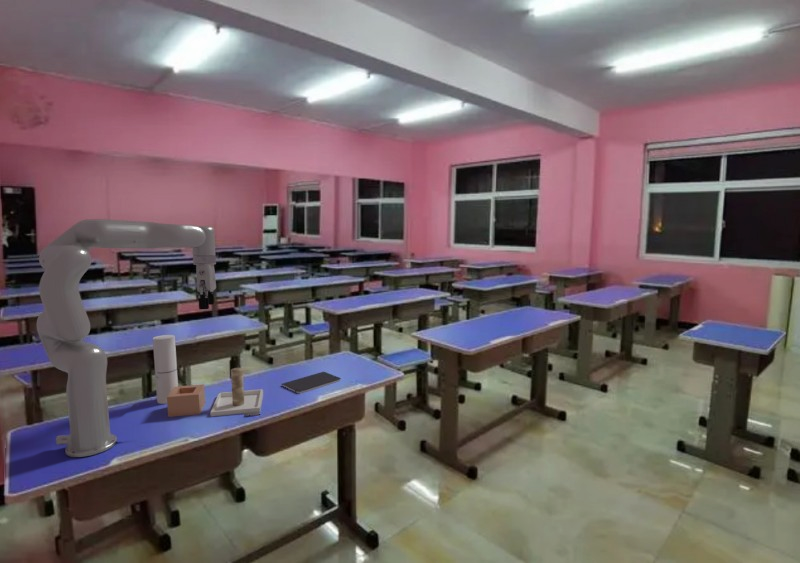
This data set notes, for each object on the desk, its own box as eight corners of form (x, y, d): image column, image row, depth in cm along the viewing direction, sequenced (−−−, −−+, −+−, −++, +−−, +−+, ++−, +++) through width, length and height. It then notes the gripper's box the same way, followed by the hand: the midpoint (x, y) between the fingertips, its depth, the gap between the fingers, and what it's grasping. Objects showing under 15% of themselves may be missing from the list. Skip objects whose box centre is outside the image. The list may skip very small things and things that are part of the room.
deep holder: (168, 419, 149) (166, 397, 148) (175, 407, 159) (174, 386, 158) (199, 416, 151) (198, 394, 150) (205, 405, 161) (204, 384, 160)
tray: (210, 419, 149) (210, 412, 149) (219, 399, 167) (219, 392, 166) (259, 414, 153) (259, 407, 153) (263, 395, 170) (262, 389, 170)
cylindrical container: (169, 407, 159) (165, 340, 156) (152, 405, 161) (148, 339, 158) (183, 399, 166) (179, 335, 163) (166, 398, 168) (162, 334, 164)
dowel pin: (231, 406, 157) (230, 371, 156) (233, 402, 161) (231, 368, 160) (243, 405, 158) (242, 370, 157) (244, 401, 162) (243, 367, 160)
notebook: (323, 374, 196) (281, 387, 180) (323, 371, 196) (281, 383, 180) (341, 381, 187) (299, 395, 172) (341, 378, 187) (298, 391, 172)
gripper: (210, 262, 151) (213, 310, 153) (219, 258, 168) (221, 302, 170) (187, 262, 150) (190, 311, 152) (198, 258, 166) (201, 303, 169)
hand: (206, 306), depth 161 cm, fingers open, 9 cm apart
